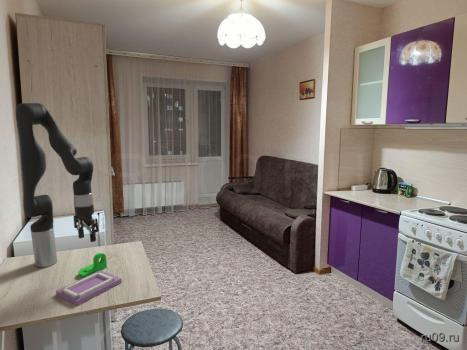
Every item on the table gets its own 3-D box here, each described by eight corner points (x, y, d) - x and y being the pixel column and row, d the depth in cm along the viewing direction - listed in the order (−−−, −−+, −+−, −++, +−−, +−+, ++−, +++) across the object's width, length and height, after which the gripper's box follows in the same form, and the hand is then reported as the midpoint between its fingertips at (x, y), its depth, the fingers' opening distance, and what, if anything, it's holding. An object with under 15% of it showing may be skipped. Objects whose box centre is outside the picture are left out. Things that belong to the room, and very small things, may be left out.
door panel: (56, 294, 128) (55, 287, 127) (100, 274, 144) (100, 267, 144) (77, 305, 120) (76, 298, 120) (121, 282, 137) (121, 275, 136)
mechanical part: (97, 265, 153) (96, 249, 152) (107, 267, 151) (105, 251, 149) (75, 276, 143) (73, 259, 141) (84, 279, 140) (83, 262, 139)
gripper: (66, 203, 140) (69, 239, 143) (85, 208, 132) (89, 245, 135) (82, 199, 146) (85, 234, 149) (101, 204, 138) (105, 240, 141)
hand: (87, 239), depth 142 cm, fingers open, 8 cm apart
